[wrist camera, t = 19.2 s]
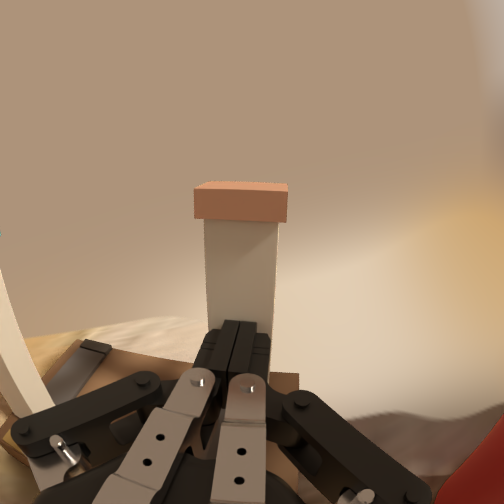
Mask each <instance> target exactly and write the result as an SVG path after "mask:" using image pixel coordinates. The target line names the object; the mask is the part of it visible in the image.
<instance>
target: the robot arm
mask: <svg viewBox="0 0 504 504" xmlns="http://www.w3.org/2000/svg"><path fill="white" fill-rule="evenodd" d="M270 348H271V340H270V338H269V336H268V334H267V333H257V322H249V321H237V320H226V319H225V320H224V322H223V325H222V328H221V329H212V330H211V331H209V332H208V333H207V334H206V335H205V338H204V340H203V343H202V345H201V347H200V350H199V352H198V354H197V357H196V359H195V362H194V364H193V366H192V369H189V370H187V371H185V372H184V373H183V374H182V375H181V377H180V378H179V379H176V380H162V381H160V378H159V376H158V375H157V374H156V373H154V372H151V371H139V372H136V373H134V374H131V375H129V376H127V377H124V378H122V379H120V380H117V381H115V382H113V383H110V384H108V385H106V386H103V387H101V388H99V389H96V390H94V391H91V392H89V393H86V394H84V395H81V396H79V397H76V398H74V399H71V400H69V401H66V402H64V403H61V404H59V405H56V406H53V407H51V408H48V409H45V410H43V411H40V412H37V413H34V414H32V415H29V416H26V417H23V418H20V419H18V420H17V421H16V422H14V424H13V425H12V427H11V431H10V434H11V437H12V439H13V441H14V442H15V443H16V444H17V446H18V447H19V448H20V449H21V451H22V453H23V454H24V455H25V456H26V457H27V459H28V461H29V464H30V467H31V470H32V472H33V475H34V478H35V480H36V483H37V485H38V487H39V490H40V493H39V494H38V495H37V496H36V497H35V498H34V500H33V502H32V504H305V503H304V501H303V500H302V499H301V498H300V497H299V496H298V495H297V494H296V492H295V491H294V490H293V489H292V488H291V487H290V485H289V484H288V483H287V482H285V481H284V480H283V479H282V478H280V477H279V476H278V475H276V474H274V473H272V472H270V471H267V470H266V440H268V441H271V442H274V443H277V446H278V448H279V449H280V450H281V452H282V453H283V454H284V455H285V456H286V457H287V458H288V459H289V460H290V461H291V462H292V464H293V465H294V466H295V467H296V468H297V469H298V470H299V471H300V472H301V473H302V474H303V475H304V476H305V477H306V478H307V479H308V480H309V481H310V482H311V483H312V484H313V485H314V486H315V487H316V488H317V489H318V490H319V491H320V492H321V493H322V494H323V495H324V496H325V497H326V498H327V499H328V500H329V501H330V502H331V503H332V504H430V503H431V500H432V491H431V489H430V487H429V486H428V485H427V484H426V483H425V482H424V481H422V480H421V479H420V478H418V477H417V476H415V475H414V474H413V473H411V472H410V471H409V470H407V469H406V468H405V467H403V466H402V465H401V464H399V463H398V462H397V461H395V460H394V459H393V458H392V457H390V456H389V455H388V454H386V453H385V452H384V451H383V450H381V449H380V448H379V447H377V446H376V445H375V444H374V443H372V442H371V441H370V440H369V439H367V438H366V437H365V436H364V435H363V434H361V433H360V432H359V431H358V430H356V429H355V428H354V427H353V426H352V425H350V424H349V423H348V422H347V421H346V420H344V419H343V418H342V417H341V416H340V415H338V414H337V413H336V412H335V411H334V410H332V409H331V408H330V407H329V406H328V405H327V404H326V403H324V402H323V401H322V400H321V399H320V398H319V397H318V396H316V395H315V394H314V393H312V392H309V391H305V390H296V391H292V392H290V393H288V394H287V395H286V394H282V393H279V392H277V391H275V390H274V389H272V388H271V387H270V386H269V384H268V382H267V381H268V372H269V361H270ZM221 408H222V409H226V411H225V418H224V421H222V424H221V430H220V437H219V444H218V451H217V457H216V459H208V460H206V456H207V453H208V450H209V447H210V445H211V442H212V439H213V437H214V434H215V431H216V428H217V426H218V423H219V415H220V411H221ZM135 410H136V412H135V413H133V414H131V415H129V416H127V417H125V418H123V419H121V420H118V421H116V422H114V423H112V424H111V422H112V421H114V420H116V419H118V418H120V417H122V416H125V415H127V414H129V413H131V412H133V411H135ZM104 462H105V463H104ZM102 463H103V464H102ZM100 464H101V465H100ZM98 465H99V466H98ZM95 466H97V467H95ZM93 467H94V468H93ZM91 468H92V469H91Z"/></svg>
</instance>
